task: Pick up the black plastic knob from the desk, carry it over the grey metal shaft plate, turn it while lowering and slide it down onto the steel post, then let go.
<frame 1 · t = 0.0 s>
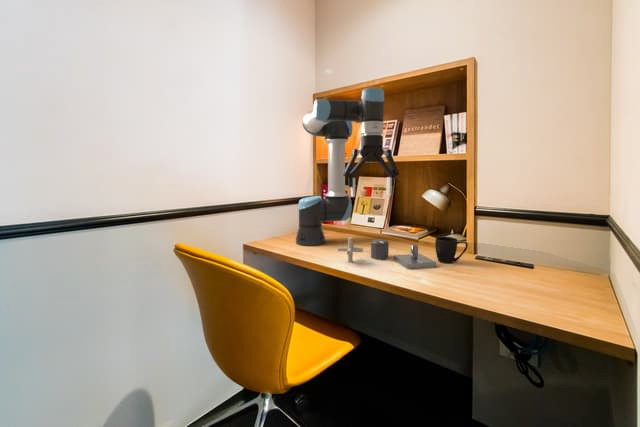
hand: (371, 196, 113), 28 cm above the table, fingers open, 13 cm apart
mug: (450, 262, 128), on the table
knob: (379, 257, 135), on the table
shaft block: (413, 263, 127), on the table
pipe connector: (350, 262, 130), on the table
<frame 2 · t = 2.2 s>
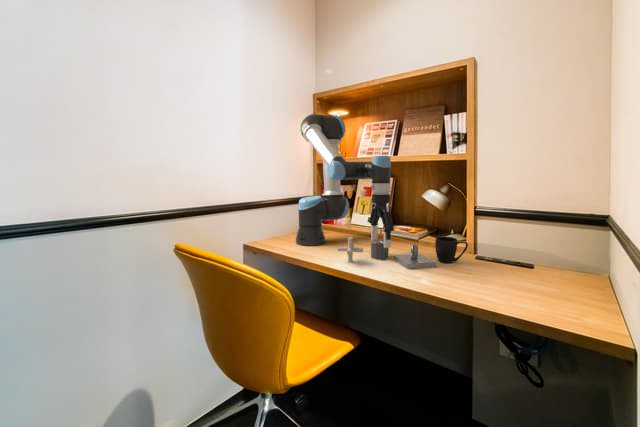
hand: (380, 243, 134), 6 cm above the table, fingers open, 13 cm apart
nothing on the table moved.
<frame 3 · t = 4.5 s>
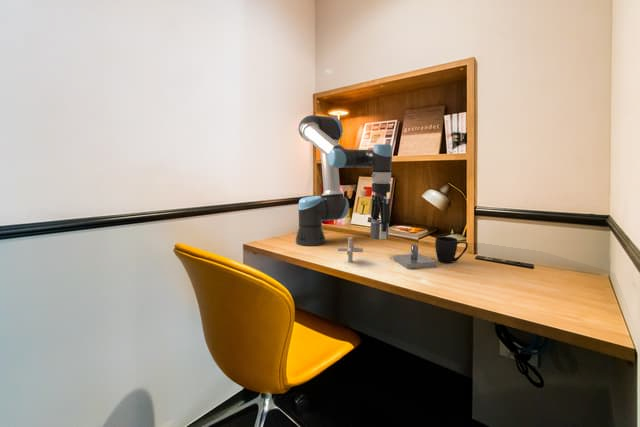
hand: (379, 236, 134), 9 cm above the table, fingers closed on knob, 7 cm apart
knob: (379, 237, 135), point 9 cm above the table, touching gripper
everything else where it was.
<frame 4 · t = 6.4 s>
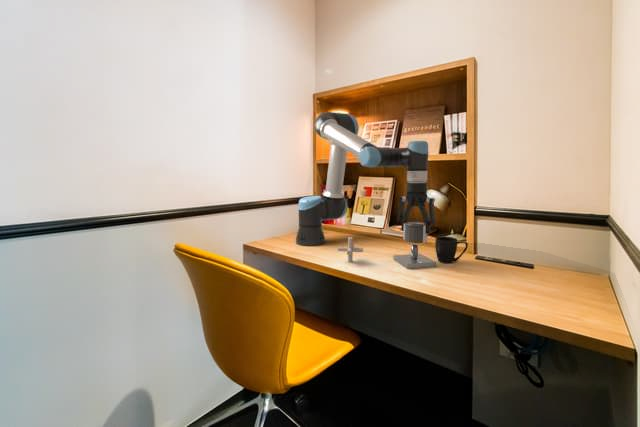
hand: (415, 240, 125), 9 cm above the table, fingers closed on knob, 7 cm apart
knob: (415, 240, 125), point 9 cm above the table, touching gripper
everything else where it was.
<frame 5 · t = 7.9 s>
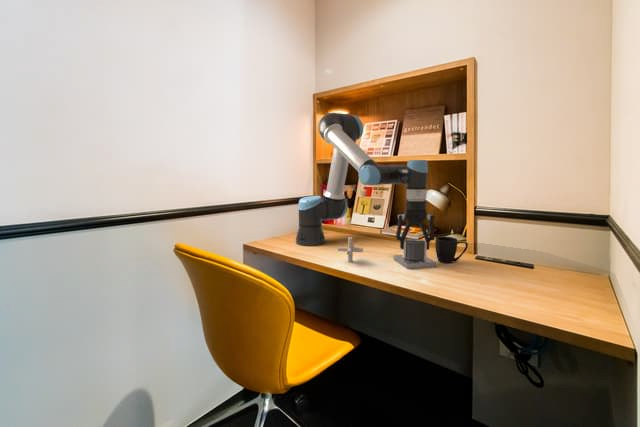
hand: (414, 257, 126), 3 cm above the table, fingers closed on knob, 7 cm apart
knob: (414, 257, 126), point 2 cm above the table, touching gripper
everything else where it was.
when the fingers open (2 cm above the table, at t = 8.4 s): knob stays where it is, resting on shaft block.
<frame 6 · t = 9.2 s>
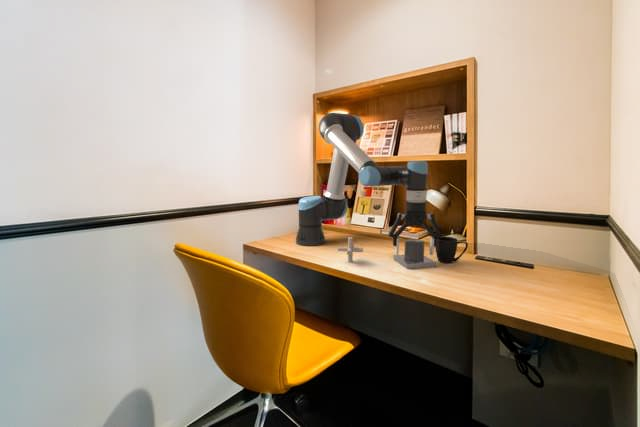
hand: (414, 254, 126), 4 cm above the table, fingers open, 13 cm apart
knob: (414, 258, 126), point 2 cm above the table, touching shaft block
everything else where it was.
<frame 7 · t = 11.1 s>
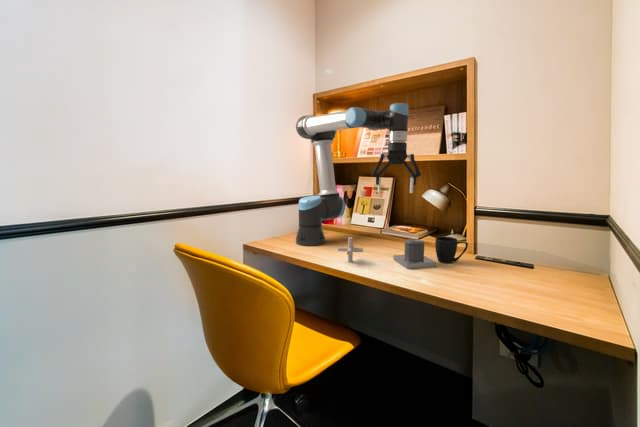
hand: (395, 192, 136), 27 cm above the table, fingers open, 13 cm apart
nothing on the table moved.
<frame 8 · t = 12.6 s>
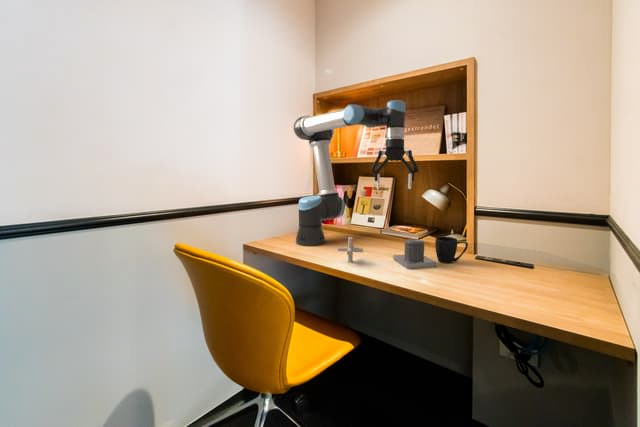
hand: (393, 188, 137), 29 cm above the table, fingers open, 13 cm apart
nothing on the table moved.
at the end: knob 0.0 cm off-centre on the shaft block, point 2.1 cm above the shaft block's base; knob tilted 1°; the gripper is holding nothing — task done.
